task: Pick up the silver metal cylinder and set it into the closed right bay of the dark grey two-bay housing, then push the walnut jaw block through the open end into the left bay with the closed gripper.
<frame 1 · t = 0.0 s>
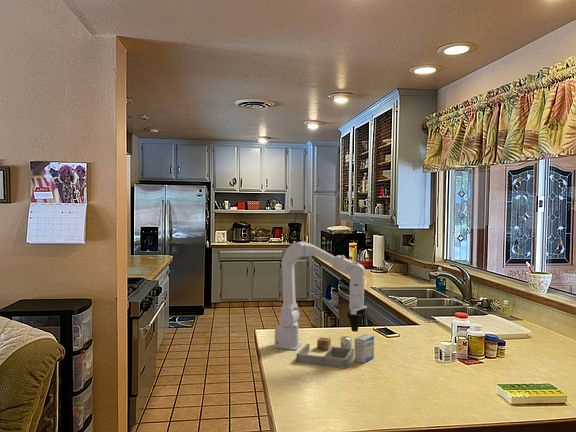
hand: (356, 328, 181), 10 cm above the table, fingers open, 7 cm apart
medicine box: (364, 359, 175), on the table
housing: (325, 359, 174), on the table
jaw block: (323, 348, 188), on the table
silver metal cylinder: (345, 349, 186), on the table
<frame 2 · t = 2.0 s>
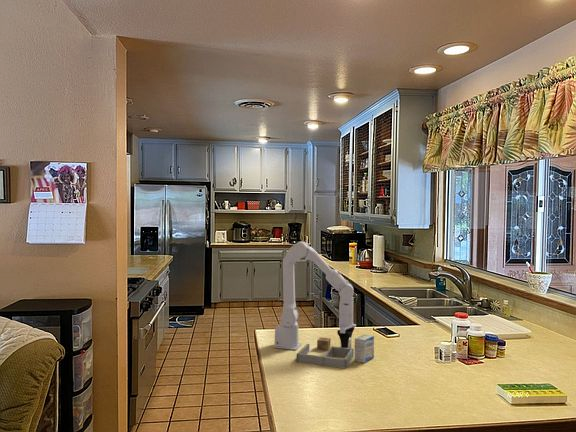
hand: (345, 346, 186), 1 cm above the table, fingers closed on silver metal cylinder, 4 cm apart
silver metal cylinder: (345, 349, 186), on the table, touching gripper
everything else where it was.
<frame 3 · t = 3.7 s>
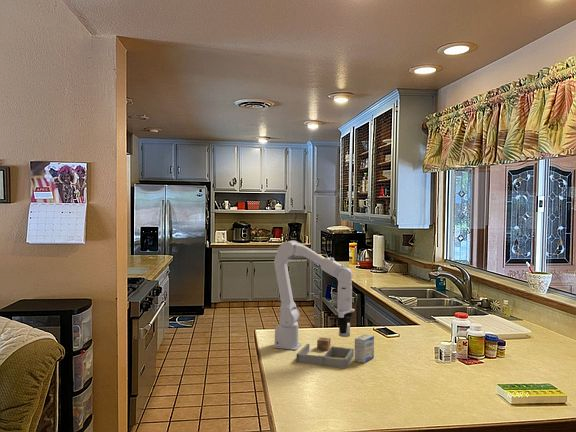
hand: (344, 331, 183), 8 cm above the table, fingers closed on silver metal cylinder, 4 cm apart
silver metal cylinder: (344, 335, 183), point 7 cm above the table, touching gripper
everything else where it was.
when the fingers open (3 cm above the table, at t = 5.8 s): silver metal cylinder drops 1 cm, on the table.
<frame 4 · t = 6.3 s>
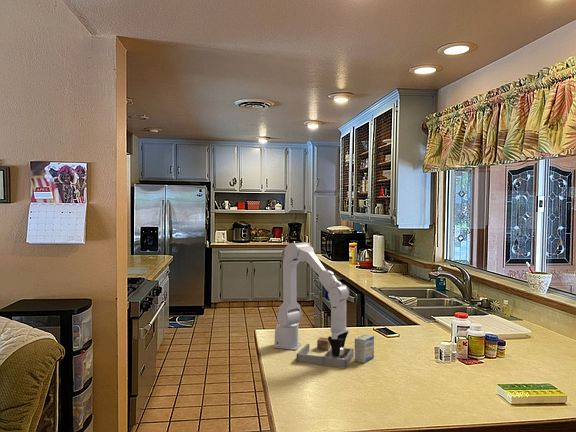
hand: (338, 353, 173), 3 cm above the table, fingers open, 7 cm apart
silver metal cylinder: (338, 360, 173), on the table
everything else where it was.
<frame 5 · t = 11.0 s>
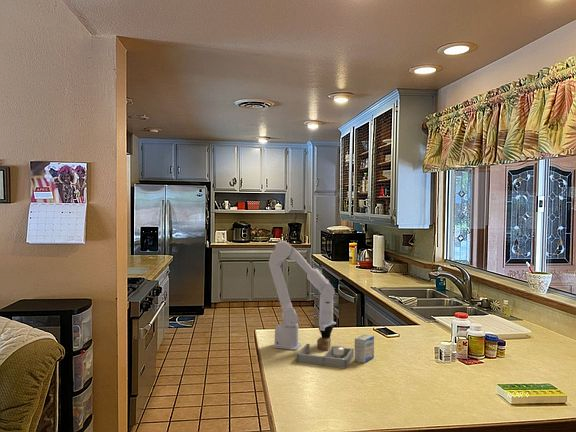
hand: (326, 343, 191), 1 cm above the table, fingers closed
jaw block: (323, 348, 188), on the table, touching gripper
everything else where it was.
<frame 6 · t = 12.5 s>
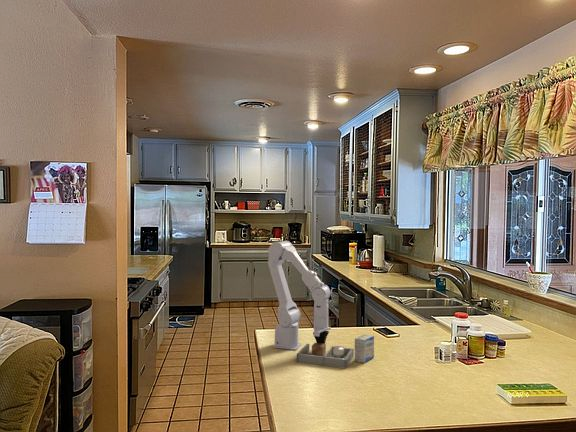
hand: (320, 349, 183), 1 cm above the table, fingers closed
jaw block: (318, 354, 179), on the table, touching gripper
everything else where it was.
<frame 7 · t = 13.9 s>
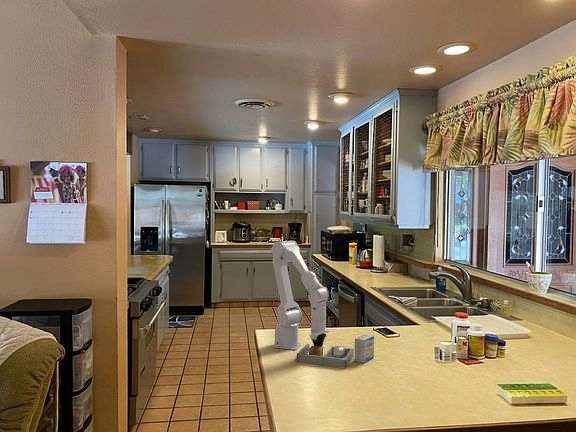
hand: (318, 352, 179), 1 cm above the table, fingers closed
jaw block: (315, 358, 176), on the table, touching gripper
everything else where it was.
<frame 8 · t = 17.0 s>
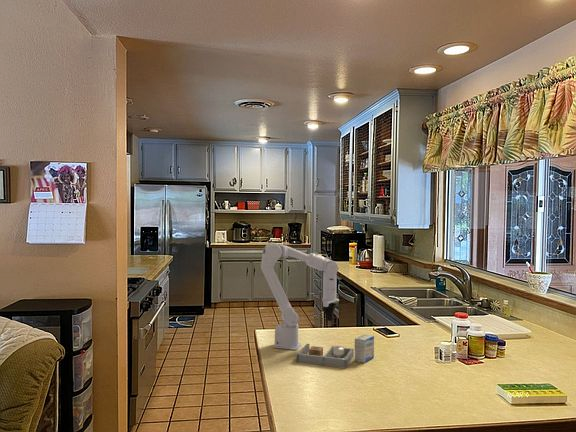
hand: (329, 320, 192), 10 cm above the table, fingers closed
jaw block: (315, 358, 176), on the table
everything else where it was.
at the end: silver metal cylinder inside the target area on the housing (0.0 cm from its centre), point 0.0 cm above the housing's base; silver metal cylinder tilted 0°; jaw block inside the target area on the housing (0.6 cm from its centre), point 0.0 cm above the housing's base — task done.
